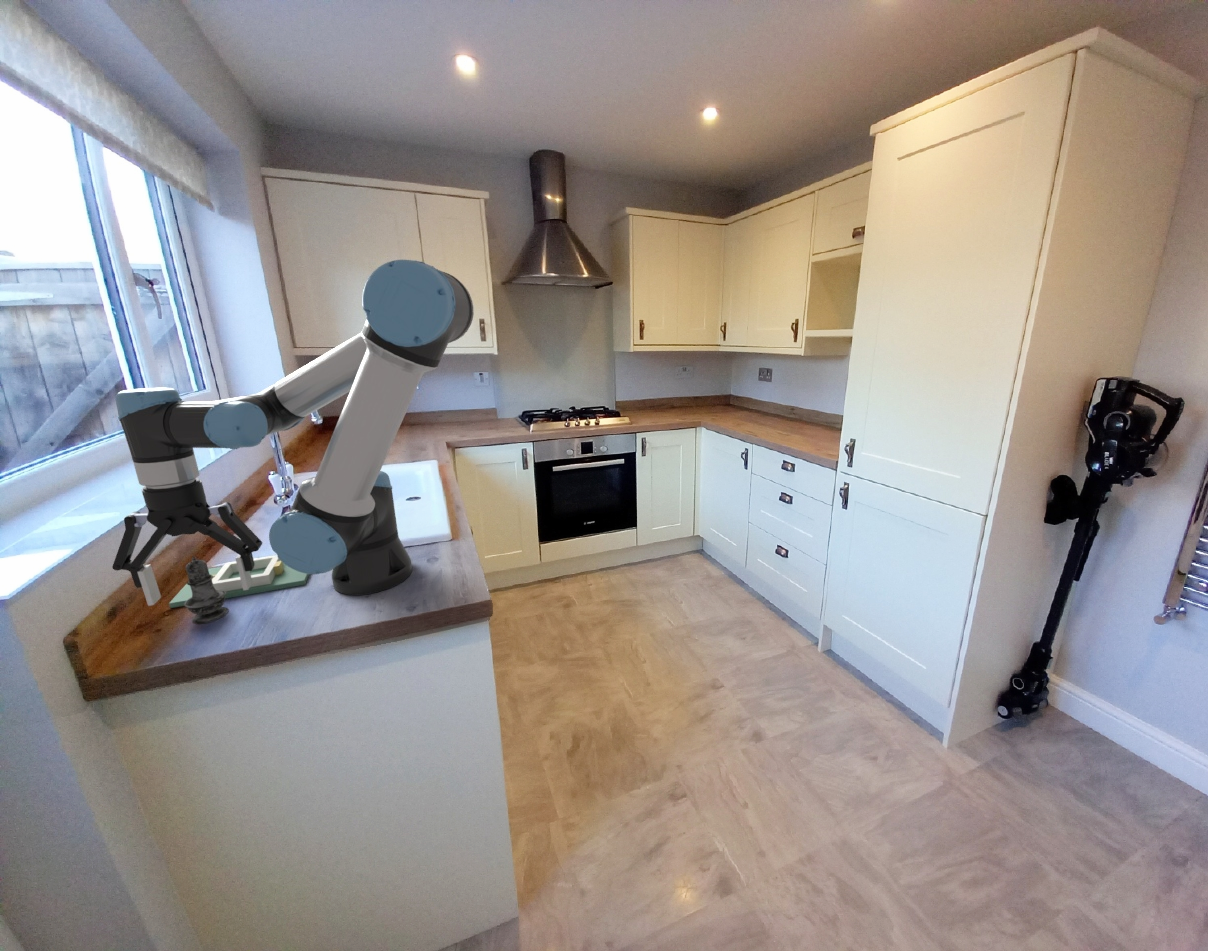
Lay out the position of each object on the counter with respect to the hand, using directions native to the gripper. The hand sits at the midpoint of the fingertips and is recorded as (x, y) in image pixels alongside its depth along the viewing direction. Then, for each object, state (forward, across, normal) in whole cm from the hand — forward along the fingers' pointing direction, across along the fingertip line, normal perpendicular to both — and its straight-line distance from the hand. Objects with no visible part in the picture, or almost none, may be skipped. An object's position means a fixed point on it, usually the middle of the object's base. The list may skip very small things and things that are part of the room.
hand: (202, 593), depth 84 cm
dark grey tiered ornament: (+5, 0, 0) cm, 5 cm away
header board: (+4, -3, -13) cm, 14 cm away
